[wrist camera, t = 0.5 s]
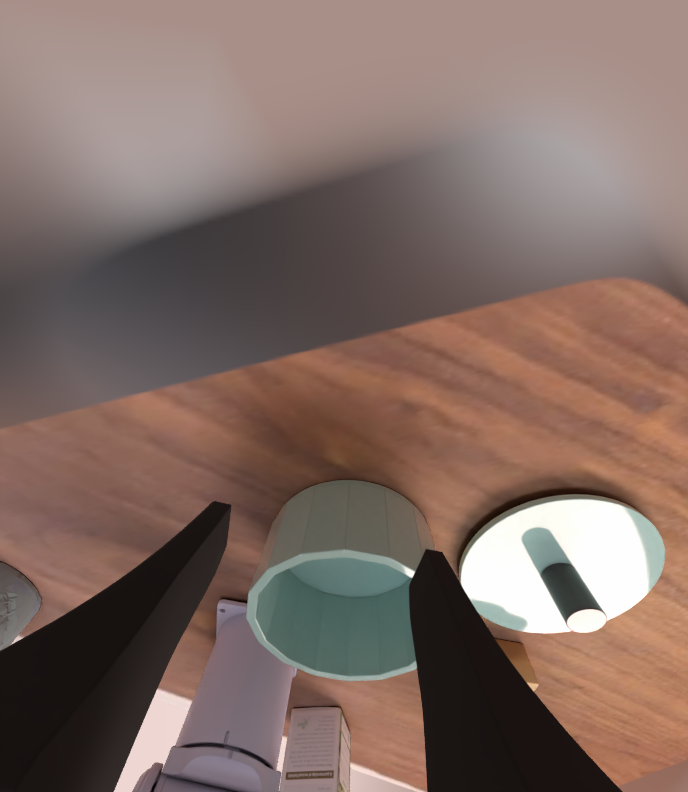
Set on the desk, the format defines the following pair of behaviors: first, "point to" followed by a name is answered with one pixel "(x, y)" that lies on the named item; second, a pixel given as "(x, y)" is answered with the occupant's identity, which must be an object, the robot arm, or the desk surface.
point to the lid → (561, 564)
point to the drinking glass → (15, 604)
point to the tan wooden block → (519, 661)
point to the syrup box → (317, 751)
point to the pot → (340, 581)
